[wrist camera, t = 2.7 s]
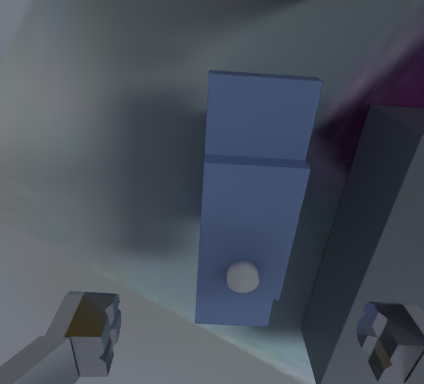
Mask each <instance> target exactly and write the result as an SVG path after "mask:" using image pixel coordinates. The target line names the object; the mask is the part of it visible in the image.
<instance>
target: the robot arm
mask: <svg viewBox="0 0 424 384" xmlns="http://www.w3.org/2000/svg"><path fill="white" fill-rule="evenodd" d="M119 302H120V301H119V295H118V294H112V293H111V294H110V293H96V292H73V291H70V292H69V293H68V294H67V295H66V296H65V298H64V300H63V302H62V304H61V306H60V308H59V310H58V312H57V313H56V315H55V317H54V319H53V321H52V323H51V325H50V327H49V329H48V331H47V333H46V335H45V337H38V338H37V339H36V340H35V341H33V342H32V343H31V344H29V345H28V346H27V347H25V348H24V349H23V350H21V351H20V352H19V353H17V354H16V355H15V356H14V357H12V358H11V359H10V360H8V361H7V362H6V363H4V364H3V365H2V366H0V384H74V383H75V382H76V381H77V380H78V379H79V377H90V376H91V377H99V376H108V374H109V370H110V367H111V363H112V359H113V356H114V354H113V346H114V344H116V343H117V341H118V338H119V334H120V327H121V312H120V310H119V309H118V305H119ZM363 310H364V312H365V315H364V316H362V317H361V318H360V319H359V320H358V323H357V338H358V341H359V344H360V346H361V348H362V349H363V350H364V351H365V352H366V353H368V354H369V359H368V363H369V365H370V367H371V369H372V371H373V374H374V376H375V378H376V380H377V382H381V383H401V384H424V312H423V311H422V310H421V308H420V307H419V306H418V305H417V304H415V303H397V302H368V303H366V304H365V306H364V309H363Z"/></svg>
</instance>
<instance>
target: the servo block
mask: <svg viewBox="0 0 424 384" xmlns="http://www.w3.org/2000/svg"><path fill="white" fill-rule="evenodd" d="M322 86H323V81H322V80H320V79H319V78H317V77H304V76H289V75H274V74H260V73H245V72H230V71H216V70H209V83H208V101H207V119H206V137H205V155H204V172H203V190H202V208H201V225H200V243H199V261H198V279H197V298H196V316H195V323H198V324H220V325H242V326H264V327H268V322H269V318H270V314H271V309H272V305H273V300H279V299H280V295H281V291H282V287H283V283H284V279H285V274H286V270H287V266H288V262H289V258H290V254H291V250H292V245H293V241H294V237H295V233H296V229H297V225H298V221H299V216H300V212H301V208H302V204H303V200H304V196H305V192H306V187H307V183H308V179H309V175H310V171H311V168H310V167H309V165H308V164H307V162H306V156H307V151H308V147H309V143H310V138H311V134H312V130H313V125H314V121H315V116H316V112H317V108H318V103H319V99H320V95H321V90H322Z"/></svg>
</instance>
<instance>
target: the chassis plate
mask: <svg viewBox="0 0 424 384" xmlns="http://www.w3.org/2000/svg"><path fill="white" fill-rule="evenodd" d="M368 302H397V303H415V304H417V305H418V306H419V307H420V308H421V310H422V311H423V312H424V108H417V107H402V106H386V105H371V104H370V107H369V111H368V114H367V117H366V120H365V123H364V127H363V130H362V133H361V136H360V140H359V143H358V146H357V149H356V153H355V156H354V159H353V162H352V165H351V169H350V172H349V175H348V178H347V182H346V185H345V188H344V191H343V195H342V198H341V201H340V204H339V208H338V211H337V214H336V217H335V220H334V224H333V227H332V230H331V233H330V237H329V240H328V243H327V246H326V250H325V253H324V256H323V259H322V262H321V266H320V269H319V272H318V275H317V279H316V282H315V285H314V288H313V292H312V295H311V298H310V301H309V304H308V308H307V311H306V314H305V317H304V321H303V324H302V327H301V331H302V334H303V338H304V342H305V345H306V349H307V352H308V356H309V360H310V363H311V367H312V370H313V374H314V378H315V381H316V384H401V383H381V382H377V380H376V378H375V376H374V374H373V371H372V369H371V367H370V365H369V363H368V359H369V354H368V353H366V352H365V351H364V350H363V349H362V348H361V346H360V344H359V341H358V338H357V323H358V320H359V319H360V318H361V317H362V316H364V315H365V312H364V310H363V309H364V306H365V304H366V303H368Z"/></svg>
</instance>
